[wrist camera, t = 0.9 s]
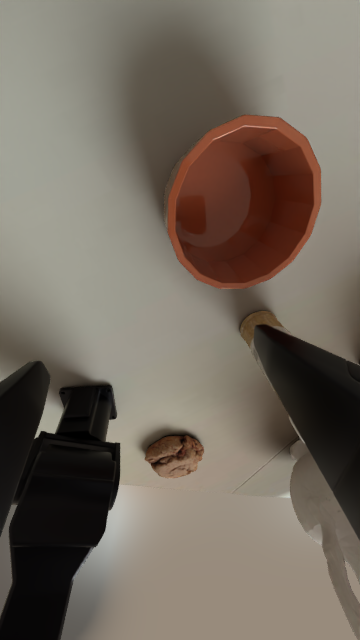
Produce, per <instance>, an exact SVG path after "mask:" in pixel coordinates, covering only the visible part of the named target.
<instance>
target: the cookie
mask: <svg viewBox="0 0 360 640" xmlns="http://www.w3.org/2000/svg"><path fill="white" fill-rule="evenodd" d="M203 453H204V448H203V446H202V445H201V444H200V443H199V442H198V441H197V440H195V439H193V438H191V437H189V436H186V435H185V436H183V437H182V436H180V437H179V436H169V437H168V436H167V437H165V438H163V439H160V440H159V441H157V442H155V443H154V444H153V445H152V446H151V445H150V447H149V448H148V450H147V452H146V457H145V460H146V461H148V462H149V463H151V466H152V468H153V470H154V471H155V472H156V473H158V475H159V476H161V477H165V478H178V477H182V476H185V475H188V474H190V473H191V471H192V472H194V471H196V469H197V464H198V461H201V460H202V455H203Z"/></svg>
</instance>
